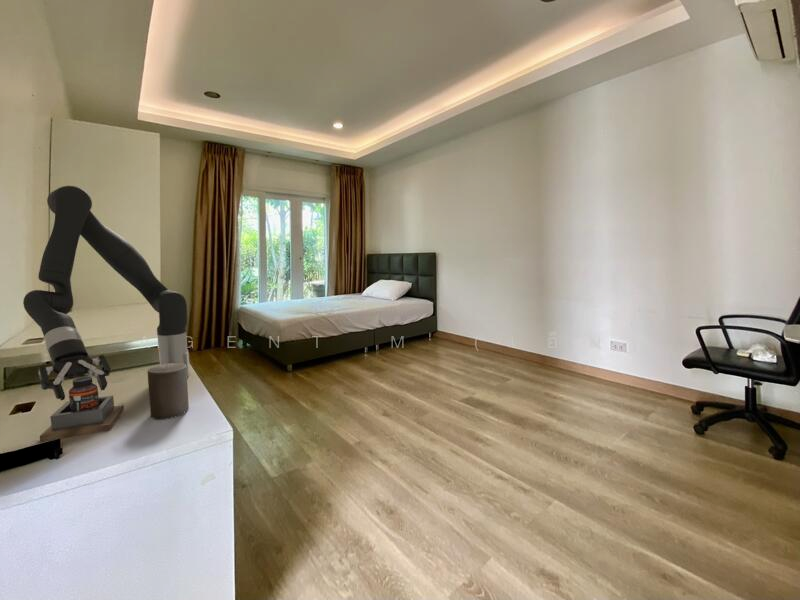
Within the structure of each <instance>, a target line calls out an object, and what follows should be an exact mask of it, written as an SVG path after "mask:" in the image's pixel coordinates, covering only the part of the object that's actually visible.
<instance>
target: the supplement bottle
mask: <svg viewBox="0 0 800 600" xmlns="http://www.w3.org/2000/svg"><path fill="white" fill-rule="evenodd" d="M68 398H69V399H68V400H69V401H70V409H71V412H74V411H81V410H88V409H95V408H98V407H99V389H98V386H97V384H96V383H93V377H90V376H81V377H78V378H77V377H76V378H75V379H73V380H72V387H71V388H70V389H69V390H68Z"/></svg>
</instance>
